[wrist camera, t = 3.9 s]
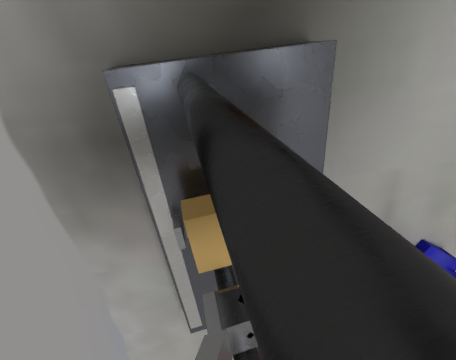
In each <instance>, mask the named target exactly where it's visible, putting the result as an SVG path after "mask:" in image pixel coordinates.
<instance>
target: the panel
mask: <svg viewBox="0 0 456 360" xmlns="http://www.w3.org/2000/svg"><path fill="white" fill-rule="evenodd" d="M336 41H337V40H329V41H311V42H304V43H296V44H288V45H281V46H273V47H265V48H258V49H250V50H242V51H235V52H227V53H219V54H212V55H204V56H196V57H189V58H181V59H173V60H165V61H158V62H150V63H142V64H135V65H127V66H119V67H112V68H109V69H107V70H104V71H103V74H104V77H105V80H106V83H107V86H108V89H109V92H110V95H111V98H112V101H113V104H114V107H115V109H116V112H117V115H118V118H119V121H120V124H121V127H122V130H123V133H124V136H125V139H126V142H127V145H128V148H129V151H130V154H131V157H132V160H133V163H134V166H135V169H136V172H137V175H138V178H139V181H140V184H141V187H142V190H143V193H144V196H145V199H146V202H147V205H148V207H149V210H150V213H151V216H152V219H153V222H154V225H155V228H156V231H157V234H158V237H159V240H160V243H161V246H162V249H163V252H164V255H165V258H166V261H167V264H168V267H169V270H170V273H171V276H172V279H173V282H174V285H175V288H176V291H177V294H178V297H179V300H180V303H181V306H182V308H183V311H184V314H185V317H186V320H187V323H188V326H189V329H190V332H191V333H194V332H197V331H200V330H204V329H207V325H206V318H205V312H204V305H203V299H202V295H203V294H207V293H210V292H214V291H218V290H222V289H226V288H229V287H233V286H237V285H239V288H240V291H241V294H242V297H243V300H244V304H245V307H246V310H247V313H248V316H249V319H250V323H251V326H252V329H253V332H254V335H255V338H256V342H257V345H258V347H255V348H252V349H249V350H246V351H243V352H241V353H238V354H235V355H233V358H234V360H261V357H262V360H456V278H455V277H453V276H452V275H451V274H450V273H448V272H447V271H446V270H444V269H443V268H442V267H441V266H439V265H438V264H437V263H435V262H434V261H433V260H432V259H430V258H429V257H428V256H427V255H425V254H424V253H423V252H421V251H420V250H419V249H418V248H416V247H415V246H414V245H413V244H411V243H410V242H409V241H407V240H406V239H405V238H404V237H402V236H401V235H400V234H399V233H397V232H396V231H395V230H393V229H392V228H391V227H390V226H388V225H387V224H386V223H384V222H383V221H382V220H381V219H379V218H378V217H377V216H376V215H374V214H373V213H372V212H370V211H369V210H368V209H367V208H365V207H364V206H363V205H362V204H360V203H359V202H358V201H356V200H355V199H354V198H353V197H351V196H350V195H349V194H348V193H346V192H345V191H344V190H342V189H341V188H340V187H339V186H337V185H336V184H335V183H333V182H332V181H331V180H330V179H328V178H327V177H326V176H325V175H323V168H324V158H325V148H326V138H327V129H328V119H329V109H330V99H331V90H332V80H333V70H334V60H335V51H336ZM208 194H210V196H211V199H212V202H213V206H214V209H215V212H216V215H217V218H218V221H219V225H220V228H221V231H222V234H223V237H224V240H225V244H226V247H227V250H228V253H229V256H230V259H231V263H232V265H230V266H226V267H222V268H218V269H215V270H211V271H207V272H203V273H200V274H199V272H198V269H197V266H196V262H195V259H194V255H193V252H192V249H191V245H190V242H189V238H187V235H186V230H185V225H184V222H183V215H182V209H181V202H180V201H181V200H185V199H190V198H194V197H199V196H204V195H208ZM214 293H215V292H214ZM216 302H217V301H216ZM258 348H259V350H258ZM259 351H260V353H259ZM260 354H261V357H260Z"/></svg>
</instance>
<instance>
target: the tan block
mask: <svg viewBox="0 0 456 360" xmlns="http://www.w3.org/2000/svg"><path fill="white" fill-rule="evenodd" d="M180 202H181V209H182V215H183V222H184V225H185V230H186V235H187V238H189V242H190V245H191V249H192V252H193V255H194V259H195V262H196V266H197V269H198V272H199V274H200V273H203V272H207V271H211V270H215V269H218V268H222V267H226V266H230V265H232V263H231V259H230V256H229V253H228V250H227V247H226V244H225V240H224V237H223V234H222V231H221V228H220V225H219V221H218V218H217V215H216V212H215V209H214V206H213V202H212V199H211V196H210V194H208V195H204V196H199V197H194V198H190V199H185V200H181V201H180Z"/></svg>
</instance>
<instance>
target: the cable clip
mask: <svg viewBox="0 0 456 360" xmlns="http://www.w3.org/2000/svg"><path fill="white" fill-rule="evenodd" d="M415 247H416V248H418V249H419V250H420V251H421V252H423V253H424V254H425V255H427V256H428V257H429V258H430V259H432V260H433V261H434V262H435V263H437V264H438V265H439V266H441V267H442V268H443V269H444V270H446V271H447V272H448V273H450V274H451V275H452V276H453V277H455V278H456V272H455V270H456V258H455V257H453V256H452V255H451V254H449V253H448V252H446V251H445V250H444V249H442V248H440V247H438V246H435V245H433V244H431V243H429V242H427V241H425V240H423V239H422V240H421V241H420V242H419V243H418V244H417V245H416V246H415Z"/></svg>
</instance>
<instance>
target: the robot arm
mask: <svg viewBox="0 0 456 360" xmlns="http://www.w3.org/2000/svg"><path fill="white" fill-rule="evenodd" d="M214 292H215V293H214ZM214 292H210V293H207V294H203V295H202V299H203V305H204V312H205V318H206V325H207V332H208V335H205V336H204V338H203V340H202V343H201V346H200V348H199V351H198V353H197V356H196V359H195V360H232V355H235V354H238V353H241V352H243V351H246V350H249V349H252V348H255V347H258V345H257V342H256V338H255V335H254V332H253V329H252V326H251V323H250V319H249V316H248V313H247V310H246V307H245V304H244V300H243V297H242V294H241V291H240V288H239V285H237V286H233V287H229V288H226V289H222V290H218V291H214ZM216 301H217V302H216Z"/></svg>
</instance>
